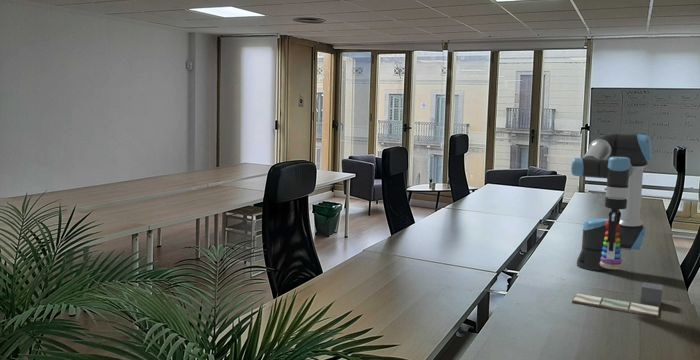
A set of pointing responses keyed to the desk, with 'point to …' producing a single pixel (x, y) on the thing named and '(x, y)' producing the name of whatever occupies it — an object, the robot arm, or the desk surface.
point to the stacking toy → (617, 260)
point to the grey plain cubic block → (651, 294)
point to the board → (616, 305)
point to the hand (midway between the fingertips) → (611, 256)
